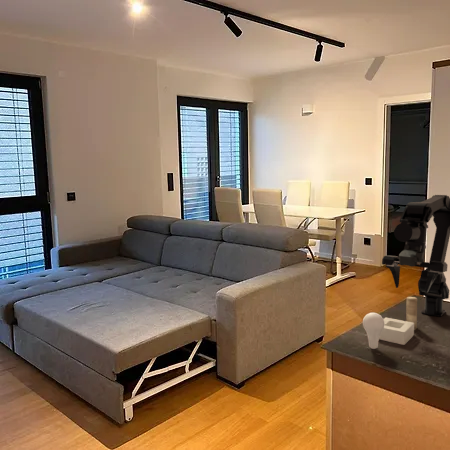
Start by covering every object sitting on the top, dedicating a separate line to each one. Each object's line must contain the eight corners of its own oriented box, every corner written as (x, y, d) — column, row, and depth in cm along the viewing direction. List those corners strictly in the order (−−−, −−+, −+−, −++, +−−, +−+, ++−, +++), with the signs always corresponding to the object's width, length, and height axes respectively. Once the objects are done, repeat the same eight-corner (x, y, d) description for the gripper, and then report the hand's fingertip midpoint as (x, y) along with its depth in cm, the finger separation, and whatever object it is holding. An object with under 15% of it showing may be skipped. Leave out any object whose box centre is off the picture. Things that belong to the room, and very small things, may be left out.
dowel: (407, 325, 150) (408, 296, 149) (417, 327, 148) (418, 297, 147) (404, 328, 148) (405, 298, 146) (414, 330, 146) (415, 300, 144)
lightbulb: (385, 353, 130) (386, 317, 129) (363, 352, 132) (363, 316, 130) (382, 344, 136) (383, 309, 134) (361, 344, 137) (361, 309, 136)
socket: (385, 329, 148) (385, 317, 147) (413, 335, 142) (414, 322, 142) (374, 338, 141) (374, 326, 141) (404, 344, 135) (404, 332, 135)
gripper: (377, 239, 144) (373, 287, 145) (440, 245, 133) (435, 298, 133) (389, 238, 153) (385, 284, 154) (449, 244, 141) (445, 294, 142)
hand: (411, 290), depth 145 cm, fingers open, 9 cm apart
